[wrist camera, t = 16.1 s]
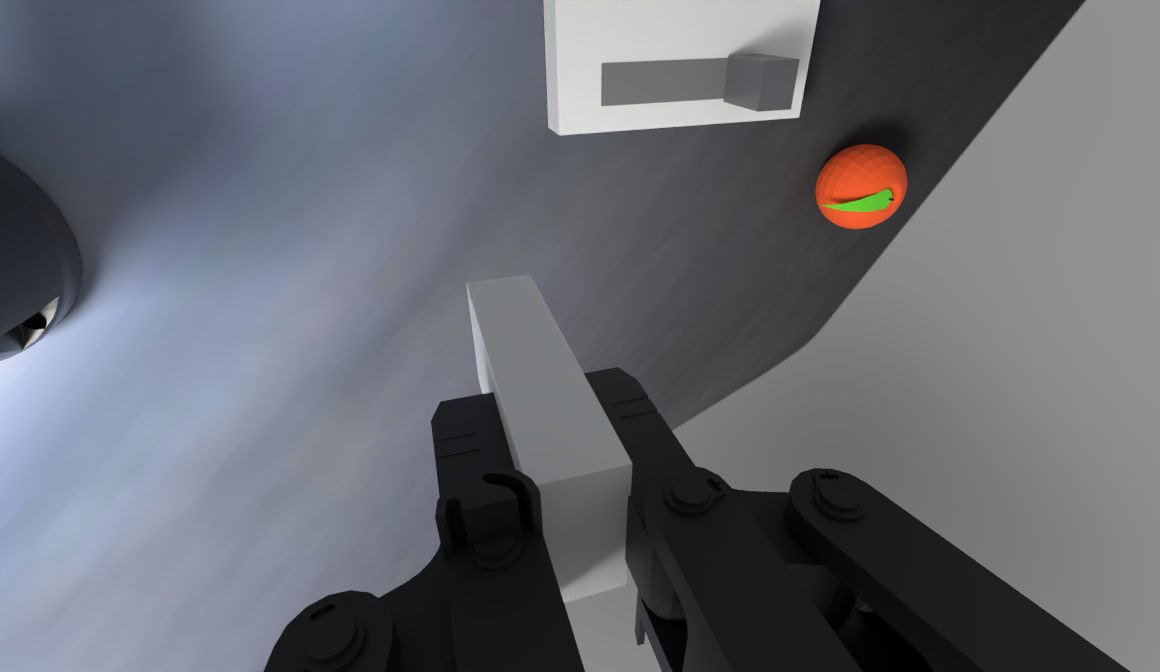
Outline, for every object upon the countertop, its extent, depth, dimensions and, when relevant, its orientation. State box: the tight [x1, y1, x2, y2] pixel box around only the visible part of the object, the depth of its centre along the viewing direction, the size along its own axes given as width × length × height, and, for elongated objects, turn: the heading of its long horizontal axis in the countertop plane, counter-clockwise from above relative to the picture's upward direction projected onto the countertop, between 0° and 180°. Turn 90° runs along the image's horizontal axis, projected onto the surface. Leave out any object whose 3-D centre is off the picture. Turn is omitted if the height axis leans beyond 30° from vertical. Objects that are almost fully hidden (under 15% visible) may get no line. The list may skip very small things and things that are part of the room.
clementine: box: [815, 144, 907, 229], centre depth 47 cm, size 8×7×7 cm
